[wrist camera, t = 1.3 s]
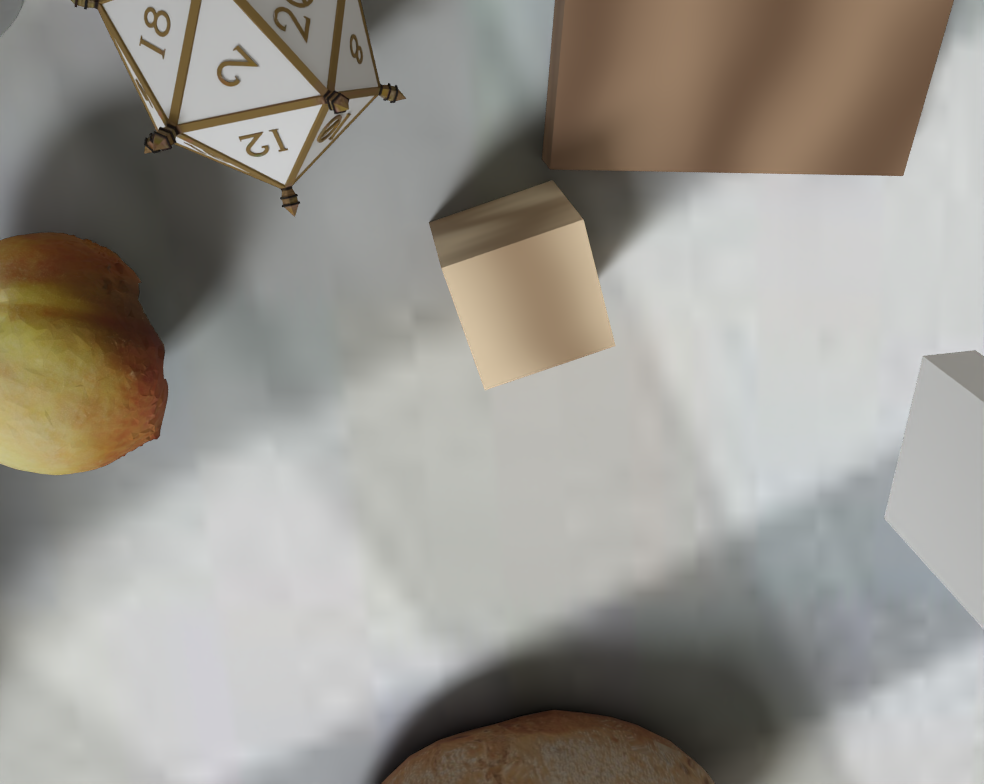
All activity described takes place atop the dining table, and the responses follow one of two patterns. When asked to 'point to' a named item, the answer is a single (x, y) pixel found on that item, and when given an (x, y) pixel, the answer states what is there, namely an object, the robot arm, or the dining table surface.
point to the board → (739, 84)
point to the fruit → (74, 357)
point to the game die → (248, 78)
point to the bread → (552, 754)
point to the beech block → (523, 283)
